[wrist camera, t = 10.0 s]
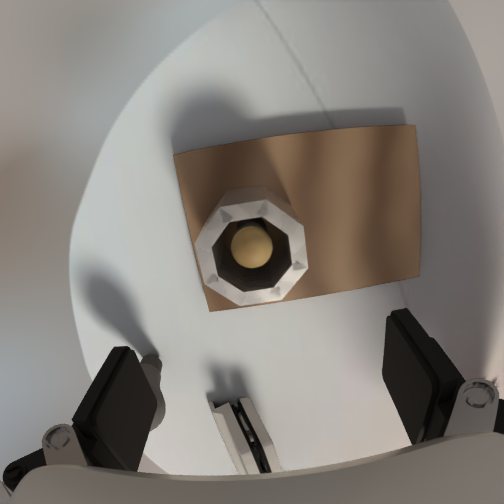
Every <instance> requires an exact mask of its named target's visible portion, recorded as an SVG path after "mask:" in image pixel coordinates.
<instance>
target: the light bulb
mask: <svg viewBox="0 0 504 504" xmlns="http://www.w3.org/2000/svg"><path fill="white" fill-rule="evenodd" d="M140 365H141V367H142V369H143V371H144V374H145V376H146V378H147V380H148V382H149V384H150V386H151V388H152V391H153V393H154V395H155V397H156V399H157V409H156V412H155V416H154V419H153V422H152V425H151V428H150V431H152V430H153V429H155V428H157V427H158V425H159V424H160V423H161V422H162V420H163V418H164V415H165V401H164V398H163V394H162V392H161V390H160V380H161V374H160V373H161V368H162V362H161V360H160V359H159V358H158V357H156V356H154V355H146V356H144V357H143V359H142V360H141V362H140ZM150 431H149V432H150Z"/></svg>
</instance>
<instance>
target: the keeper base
mask: <svg viewBox="0 0 504 504" xmlns="http://www.w3.org/2000/svg"><path fill="white" fill-rule="evenodd" d="M173 156H174V161H175V166H176V171H177V176H178V181H179V185H180V190H181V195H182V200H183V204H184V209H185V213H186V218H187V222H188V226H189V231H190V235H191V239H192V244H193V248H194V252H195V256H196V260H197V264H198V269H199V273H200V277H201V281H202V284H203V288H204V292H205V296H206V300H207V304H208V308H209V311H210V312H214V311H221V310H229V309H236V308H243V307H250V306H257V305H264V304H271V303H277V302H284V301H290V300H296V299H302V298H308V297H314V296H320V295H326V294H331V293H337V292H343V291H348V290H353V289H359V288H364V287H369V286H374V285H379V284H384V283H389V282H394V281H399V280H404V279H409V278H413V277H418V276H419V270H420V247H421V197H420V174H419V159H418V147H417V137H416V128H415V125H390V126H371V127H356V128H343V129H332V130H322V131H313V132H304V133H296V134H288V135H280V136H273V137H266V138H260V139H253V140H247V141H241V142H235V143H230V144H224V145H219V146H214V147H209V148H204V149H199V150H194V151H189V152H184V153H180V154H176V155H173ZM258 185H264V186H265V187H267V188H268V189H269V190H271V191H272V192H274V193H275V194H276V195H278V196H279V197H281V198H282V199H283V200H285V201H286V202H287V203H289V204H290V205H291V206H292V207H293V209H294V211H295V212H296V214H297V216H298V218H299V219H300V221H301V223H302V225H303V226H304V234H305V243H306V252H307V261H308V269H307V270H306V271H305V273H304V274H303V275H302V276H301V277H300V279H299V280H298V281H297V282H296V283H295V285H294V286H293V287H292V288H291V289H290V291H289V292H288V293H287V294H286V295H285V296H284V298H283V299H282V300H278V301H271V302H265V303H258V304H251V305H244V306H239V305H237V304H236V303H234V302H232V301H231V300H229V299H227V298H226V297H224V296H223V295H221V294H219V293H218V292H216V291H215V290H213V289H211V288H210V287H208V286H207V285H205V284H204V281H203V277H202V273H201V269H200V264H199V260H198V256H197V252H196V248H195V242H196V240H197V238H198V236H199V234H200V232H201V230H202V228H203V226H204V224H205V222H206V220H207V219H208V217H209V216H210V214H211V213H212V211H213V210H214V208H215V207H216V205H217V204H218V203H219V201H220V200H221V198H222V197H223V195H224V194H225V193H226V191H228V190H234V189H240V188H245V187H252V186H258ZM222 234H223V239H224V243H225V246H227V247H228V248H230V249H231V251H232V255H233V257H234V259H235V260H236V261H237V262H238V263H239V264H240V265H242V266H244V267H247V268H256V267H260V266H262V265H263V264H265V263H266V262H267V261H268V260H269V258H270V256H271V254H272V250H273V248H274V247H275V246H276V245H277V243H278V242H279V241H280V239H281V238H282V237H283V231H282V230H280V229H279V228H277V227H276V226H275V225H273V224H272V223H270V222H269V221H267V220H266V219H265V218H263V217H257V218H251V219H245V220H239V221H233V222H229V223H228V225H227V226H226V228H225V229H224V230H223V232H222Z"/></svg>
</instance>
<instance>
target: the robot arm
mask: <svg viewBox="0 0 504 504" xmlns="http://www.w3.org/2000/svg"><path fill="white" fill-rule="evenodd" d="M382 376H383V380H384V382H385V384H386V387H387V389H388V391H389V393H390V395H391V398H392V400H393V402H394V404H395V407H396V409H397V411H398V413H399V416H400V418H401V420H402V423H403V425H404V427H405V430H406V432H407V434H408V437H409V439H410V442H411V444H412V445H411V446H408V447H405V448H401V449H397V450H394V451H390V452H386V453H382V454H378V455H374V456H370V457H366V458H361V459H357V460H352V461H348V462H343V463H338V464H332V465H327V466H321V467H314V468H308V469H300V470H293V471H284V472H274V473H263V474H248V475H223V476H195V475H169V474H155V473H154V474H153V473H143V472H137V470H138V467H139V463H140V460H141V457H142V454H143V450H144V447H145V444H146V441H147V438H148V434H149V431H150V428H151V425H152V422H153V419H154V416H155V412H156V409H157V399H156V397H155V395H154V393H153V391H152V388H151V386H150V384H149V382H148V380H147V378H146V376H145V374H144V371H143V369H142V367H141V365H140V362H139V360H138V358H137V356H136V353H135V351H134V350H131V349H130V348H129V347H128V346H120V347H114V348H113V349H112V350H111V352H110V354H109V355H108V357H107V359H106V360H105V362H104V364H103V365H102V367H101V369H100V370H99V372H98V374H97V375H96V377H95V379H94V381H93V382H92V384H91V386H90V388H89V389H88V391H87V393H86V395H85V396H84V398H83V400H82V402H81V403H80V405H79V407H78V409H77V411H76V412H75V414H74V416H73V418H72V421H73V422H74V423H73V425H72V427H71V426H70V425H67V424H58V425H55V426H53V427H51V428H50V429H49V430H47V431H46V433H45V434H44V436H43V439H42V447H43V448H41V449H39V450H37V451H35V452H33V453H31V454H29V455H27V456H24V457H22V458H20V459H18V460H16V461H14V462H12V463H10V464H9V465H8V466H7V467H6V469H5V471H4V473H3V482H1V481H0V504H504V400H503V399H499V392H498V389H497V387H496V386H495V385H494V384H493V383H491V382H490V381H488V380H484V379H471V380H469V381H467V382H466V381H465V380H464V378H463V377H462V375H461V374H460V373H459V371H458V370H457V368H456V367H455V366H454V364H453V363H452V361H451V360H450V359H449V357H448V356H447V355H446V353H445V352H444V351H443V349H442V348H441V347H440V345H439V344H438V343H437V341H436V340H435V339H434V338H432V337H429V336H428V334H427V333H426V332H425V330H424V329H423V328H422V326H421V325H420V324H419V323H418V321H417V320H416V319H415V317H414V316H413V315H412V314H411V312H410V311H409V310H408V309H407V308H403V309H398V310H394V311H392V312H391V314H390V316H387V318H386V332H385V346H384V357H383V368H382Z"/></svg>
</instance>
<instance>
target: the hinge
mask: <svg viewBox="0 0 504 504" xmlns="http://www.w3.org/2000/svg"><path fill="white" fill-rule="evenodd" d="M208 403H209V406H210V408H211V411H212V414H213V416H214V419H215V421H216V423H217V426H218V428H219V431H220V433H221V435H222V438H223V440H224V442H225V445H226V447H227V449H228V452H229V454H230V456H231V458H232V461H233V463H234V465H235V467H236V469H237V471H238V473H239V474H240V475H248V474H263V473H274V472H282V469H281V465H280V462H279V459H278V456H277V453H276V450H275V448H274V445H273V442H272V440H271V438H270V436H269V434H268V432H267V430H266V428H265V426H264V424H263V423H262V421H261V419H260V417H259V415H258V413H257V411H256V409H255V407H254V405H253V403H252V401H251V399H250V398H247V397H245V398H240V402H238V403H237V404H238V407H239V410H240V412H239V413H237V411H236V409H235V407H234V404H233V405H230V404H229V402H228V403H226V404H224V405H222V406H220V407H218V408H216V409H215V407H214V405H213V402H212V401H211V402H208ZM253 441H254V442H255V443H254V445H252V443H251V442H253Z"/></svg>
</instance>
